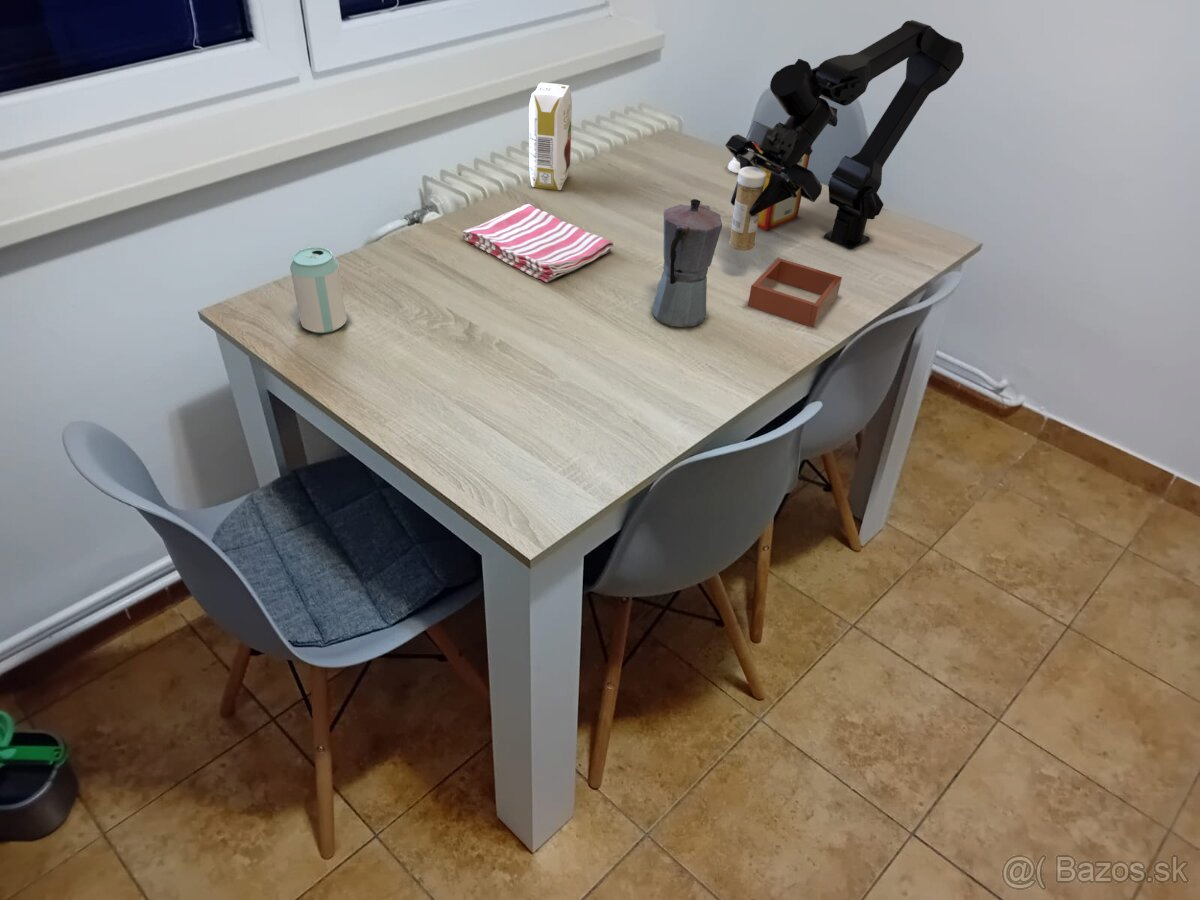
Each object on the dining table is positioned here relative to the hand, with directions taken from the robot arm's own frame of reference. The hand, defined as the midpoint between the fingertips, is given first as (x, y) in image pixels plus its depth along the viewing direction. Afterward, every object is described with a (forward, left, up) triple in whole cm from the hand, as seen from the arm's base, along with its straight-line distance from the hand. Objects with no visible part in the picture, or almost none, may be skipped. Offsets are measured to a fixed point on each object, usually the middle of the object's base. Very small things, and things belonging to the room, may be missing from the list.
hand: (741, 209), depth 152 cm
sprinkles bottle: (-1, 0, -7) cm, 7 cm away
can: (+62, -31, -13) cm, 71 cm away
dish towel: (+19, -30, -13) cm, 38 cm away
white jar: (-38, -30, -13) cm, 50 cm away
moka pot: (+16, +3, -13) cm, 21 cm away
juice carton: (-1, -50, -13) cm, 52 cm away
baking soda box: (-25, -11, -13) cm, 30 cm away
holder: (-3, +12, -13) cm, 18 cm away
